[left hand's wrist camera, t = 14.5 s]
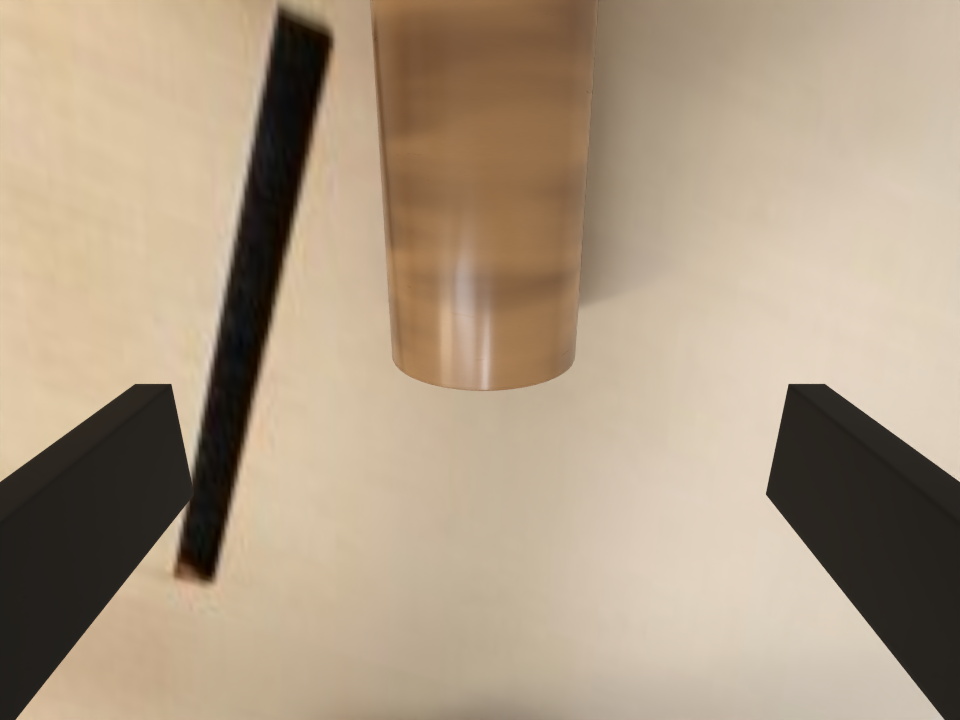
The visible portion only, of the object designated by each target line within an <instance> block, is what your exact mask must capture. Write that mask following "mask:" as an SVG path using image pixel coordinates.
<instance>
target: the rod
mask: <svg viewBox="0 0 960 720" xmlns="http://www.w3.org/2000/svg"><path fill="white" fill-rule="evenodd" d="M598 1H599V0H370V3H371V19H372V35H373V52H374V68H375V84H376V100H377V116H378V132H379V148H380V164H381V181H382V197H383V213H384V229H385V245H386V261H387V277H388V294H389V310H390V326H391V342H392V357H393V361H394V363H395V365H396V366H397V367H398V368H399V369H400V370H401V371H402V372H404V373H405V374H407V375H408V376H410V377H412V378H414V379H417V380H419V381H422V382H425V383H429V384H432V385H436V386H441V387H446V388H453V389H462V390H479V391H489V390H507V389H515V388H522V387H527V386H532V385H536V384H539V383H543V382H546V381H549V380H551V379H554V378H556V377H558V376H559V375H561V374H563V373H564V372H566V371H567V370H568V369H569V368H570V367H571V366H572V364H573V362H574V359H575V348H576V333H577V318H578V303H579V288H580V272H581V257H582V242H583V227H584V212H585V197H586V182H587V167H588V152H589V137H590V122H591V106H592V91H593V76H594V61H595V46H596V31H597V16H598Z"/></svg>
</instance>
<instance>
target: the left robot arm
mask: <svg viewBox="0 0 960 720" xmlns="http://www.w3.org/2000/svg"><path fill="white" fill-rule="evenodd" d="M193 495H194V491H193V487H192V482H191V477H190V472H189V467H188V462H187V458H186V453H185V448H184V443H183V438H182V433H181V429H180V424H179V419H178V414H177V409H176V405H175V400H174V395H173V390H172V385H171V384H135V385H133V386H132V387H131V388H129V389H128V390H126V391H125V392H124V393H122V394H121V395H119V396H118V397H117V398H115V399H114V400H113V401H111V402H110V403H108V404H107V405H106V406H104V407H103V408H102V409H100V410H99V411H97V412H96V413H95V414H93V415H92V416H91V417H89V418H88V419H86V420H85V421H84V422H82V423H81V424H80V425H78V426H77V427H75V428H74V429H73V430H71V431H70V432H69V433H67V434H66V435H64V436H63V437H62V438H60V439H59V440H58V441H56V442H55V443H53V444H52V445H51V446H49V447H48V448H46V449H45V450H44V451H42V452H41V453H40V454H38V455H37V456H35V457H34V458H33V459H31V460H30V461H29V462H27V463H26V464H24V465H23V466H22V467H20V468H19V469H18V470H16V471H15V472H13V473H12V474H11V475H9V476H8V477H7V478H5V479H4V480H2V481H1V482H0V720H16V718H17V717H18V716H19V715H20V713H21V712H22V711H23V709H24V708H25V707H26V706H27V704H28V703H29V702H30V701H31V699H32V698H33V697H34V696H35V694H36V693H37V692H38V691H39V689H40V688H41V687H42V686H43V684H44V683H45V682H46V680H47V679H48V678H49V677H50V675H51V674H52V673H53V672H54V670H55V669H56V668H57V667H58V665H59V664H60V663H61V662H62V660H63V659H64V658H65V657H66V655H67V654H68V653H69V651H70V650H71V649H72V648H73V646H74V645H75V644H76V643H77V641H78V640H79V639H80V638H81V636H82V635H83V634H84V633H85V631H86V630H87V629H88V628H89V626H90V625H91V624H92V622H93V621H94V620H95V619H96V617H97V616H98V615H99V614H100V612H101V611H102V610H103V609H104V607H105V606H106V605H107V604H108V602H109V601H110V600H111V598H112V597H113V596H114V595H115V593H116V592H117V591H118V590H119V588H120V587H121V586H122V585H123V583H124V582H125V581H126V580H127V578H128V577H129V576H130V575H131V573H132V572H133V571H134V569H135V568H136V567H137V566H138V564H139V563H140V562H141V561H142V559H143V558H144V557H145V556H146V554H147V553H148V552H149V551H150V549H151V548H152V547H153V546H154V544H155V543H156V542H157V540H158V539H159V538H160V537H161V535H162V534H163V533H164V532H165V530H166V529H167V528H168V527H169V525H170V524H171V523H172V522H173V520H174V519H175V518H176V517H177V515H178V514H179V513H180V511H181V510H182V509H183V508H184V506H185V505H186V504H187V503H188V501H189V500H190V499H191V498H192V496H193ZM766 495H767V496H768V498H769V499H770V500H771V501H772V503H773V504H774V505H775V506H776V508H777V509H778V510H779V511H780V513H781V514H782V515H783V517H784V518H785V519H786V520H787V522H788V523H789V524H790V525H791V527H792V528H793V529H794V530H795V532H796V533H797V534H798V535H799V537H800V538H801V539H802V540H803V542H804V543H805V544H806V546H807V547H808V548H809V549H810V551H811V552H812V553H813V554H814V556H815V557H816V558H817V559H818V561H819V562H820V563H821V564H822V566H823V567H824V568H825V569H826V571H827V572H828V573H829V575H830V576H831V577H832V578H833V580H834V581H835V582H836V583H837V585H838V586H839V587H840V588H841V590H842V591H843V592H844V593H845V595H846V596H847V597H848V599H849V600H850V601H851V602H852V604H853V605H854V606H855V607H856V609H857V610H858V611H859V612H860V614H861V615H862V616H863V617H864V619H865V620H866V621H867V622H868V624H869V625H870V626H871V628H872V629H873V630H874V631H875V633H876V634H877V635H878V636H879V638H880V639H881V640H882V641H883V643H884V644H885V645H886V646H887V648H888V649H889V650H890V651H891V653H892V654H893V655H894V657H895V658H896V659H897V660H898V662H899V663H900V664H901V665H902V667H903V668H904V669H905V670H906V672H907V673H908V674H909V675H910V677H911V678H912V679H913V680H914V682H915V683H916V684H917V686H918V687H919V688H920V689H921V691H922V692H923V693H924V694H925V696H926V697H927V698H928V699H929V701H930V702H931V703H932V704H933V706H934V707H935V708H936V709H937V711H938V712H939V713H940V715H941V716H942V717H943V718H944V720H960V482H959V481H958V480H956V479H955V478H953V477H952V476H951V475H949V474H948V473H947V472H945V471H944V470H942V469H941V468H940V467H938V466H937V465H936V464H934V463H933V462H931V461H930V460H929V459H927V458H926V457H925V456H923V455H922V454H920V453H919V452H918V451H916V450H915V449H914V448H912V447H911V446H909V445H908V444H907V443H905V442H904V441H902V440H901V439H900V438H898V437H897V436H896V435H894V434H893V433H891V432H890V431H889V430H887V429H886V428H885V427H883V426H882V425H880V424H879V423H878V422H876V421H875V420H874V419H872V418H871V417H869V416H868V415H867V414H865V413H864V412H863V411H861V410H860V409H858V408H857V407H856V406H854V405H853V404H852V403H850V402H849V401H847V400H846V399H845V398H843V397H842V396H840V395H839V394H838V393H836V392H835V391H834V390H832V389H831V388H829V387H828V386H827V385H825V384H789V385H788V390H787V395H786V400H785V404H784V409H783V414H782V419H781V424H780V429H779V433H778V438H777V443H776V448H775V453H774V458H773V462H772V467H771V472H770V477H769V482H768V487H767V491H766Z"/></svg>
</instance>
